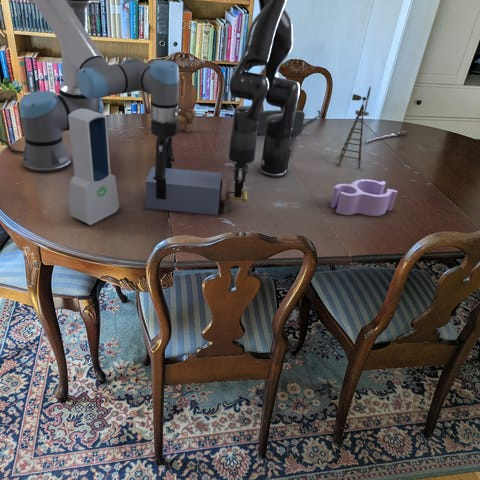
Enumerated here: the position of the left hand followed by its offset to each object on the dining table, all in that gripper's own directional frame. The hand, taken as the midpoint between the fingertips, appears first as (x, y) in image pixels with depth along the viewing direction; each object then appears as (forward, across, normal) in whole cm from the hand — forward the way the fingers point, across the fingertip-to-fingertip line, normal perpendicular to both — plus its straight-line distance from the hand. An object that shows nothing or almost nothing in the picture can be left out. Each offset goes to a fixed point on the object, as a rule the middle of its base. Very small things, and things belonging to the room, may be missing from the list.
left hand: (164, 189), depth 143 cm
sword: (+4, +79, -90) cm, 120 cm away
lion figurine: (+4, +63, +4) cm, 64 cm away
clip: (+4, +8, -63) cm, 64 cm away
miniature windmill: (+4, +45, -66) cm, 80 cm away
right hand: (0, 0, -23) cm, 23 cm away
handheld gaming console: (+4, +71, -38) cm, 81 cm away
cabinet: (+4, 0, -6) cm, 7 cm away
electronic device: (+4, -12, +18) cm, 22 cm away
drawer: (+3, 0, -12) cm, 13 cm away
